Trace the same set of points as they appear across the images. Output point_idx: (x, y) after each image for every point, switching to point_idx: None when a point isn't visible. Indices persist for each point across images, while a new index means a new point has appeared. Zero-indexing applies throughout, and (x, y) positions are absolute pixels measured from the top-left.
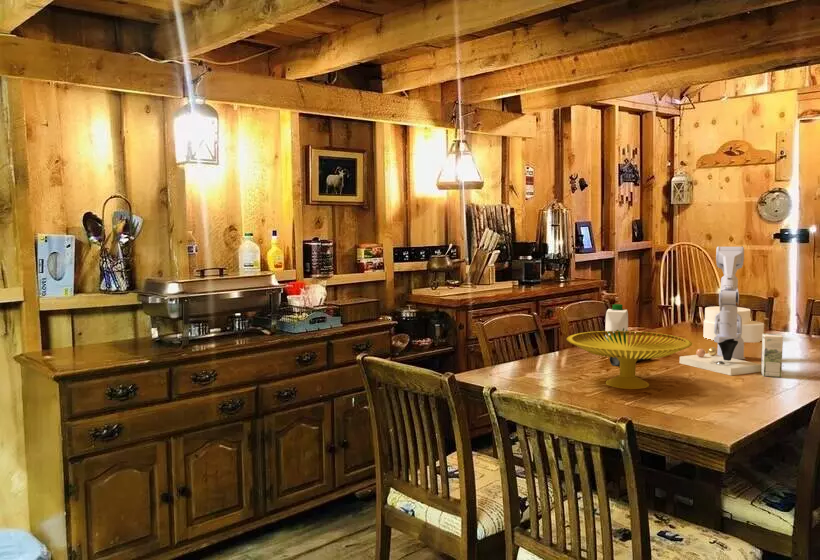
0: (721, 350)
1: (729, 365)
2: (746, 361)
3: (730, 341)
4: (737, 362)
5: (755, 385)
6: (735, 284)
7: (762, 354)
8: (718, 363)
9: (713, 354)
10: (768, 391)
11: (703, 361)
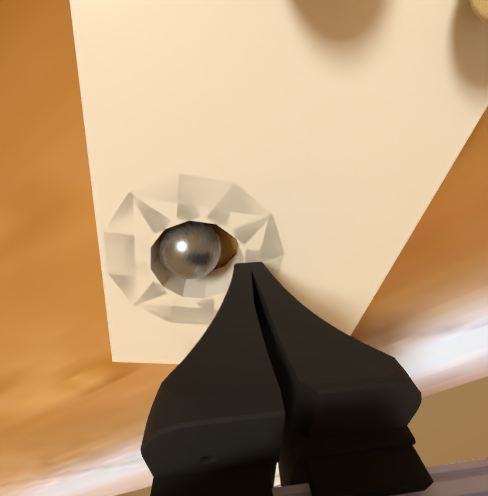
0: (218, 310)
1: (174, 321)
2: (363, 305)
3: (289, 483)
4: (298, 297)
5: (83, 427)
6: None
7: (277, 476)
8: (162, 258)
9: (471, 8)
10: (61, 461)
11: (113, 133)
